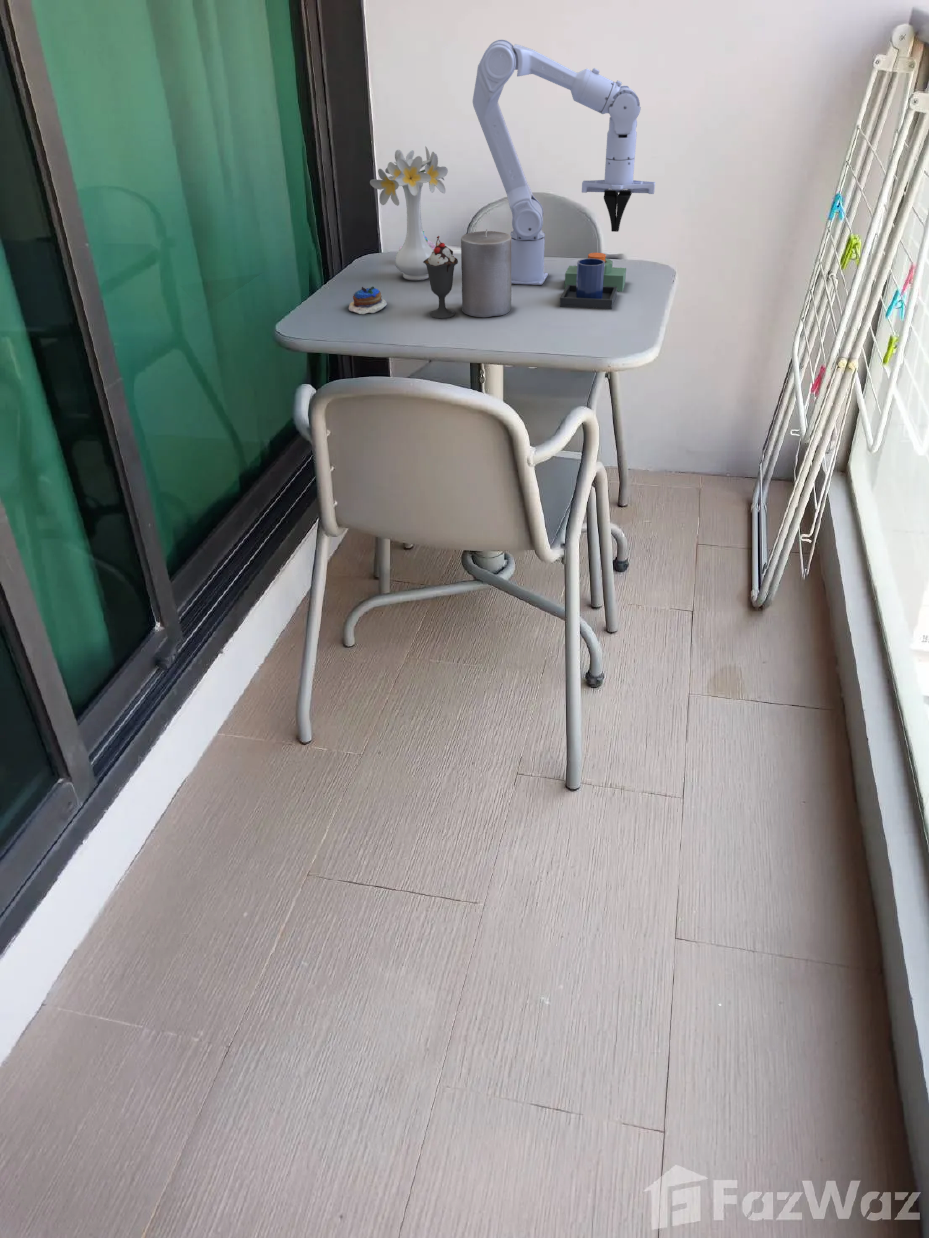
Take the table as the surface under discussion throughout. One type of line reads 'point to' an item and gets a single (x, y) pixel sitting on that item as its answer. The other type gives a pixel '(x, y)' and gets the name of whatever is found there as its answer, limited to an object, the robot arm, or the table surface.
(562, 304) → the tray
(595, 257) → the button
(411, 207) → the flower vase
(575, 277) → the green button base
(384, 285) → the table surface
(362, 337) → the table surface
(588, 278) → the cup
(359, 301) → the dessert
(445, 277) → the sundae
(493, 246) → the pillar candle
